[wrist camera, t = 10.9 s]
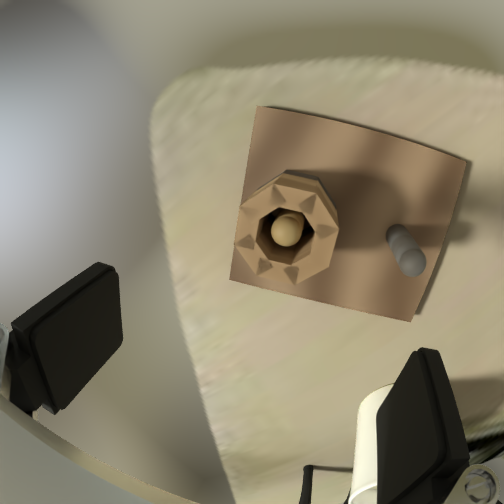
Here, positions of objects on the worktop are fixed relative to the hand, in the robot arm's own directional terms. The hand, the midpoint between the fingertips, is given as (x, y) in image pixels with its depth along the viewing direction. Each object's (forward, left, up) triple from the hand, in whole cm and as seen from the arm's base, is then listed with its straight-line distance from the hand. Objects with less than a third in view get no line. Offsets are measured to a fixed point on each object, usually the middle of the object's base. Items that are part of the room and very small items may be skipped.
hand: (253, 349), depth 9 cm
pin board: (-4, 0, -17) cm, 17 cm away
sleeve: (0, 0, -16) cm, 16 cm away
